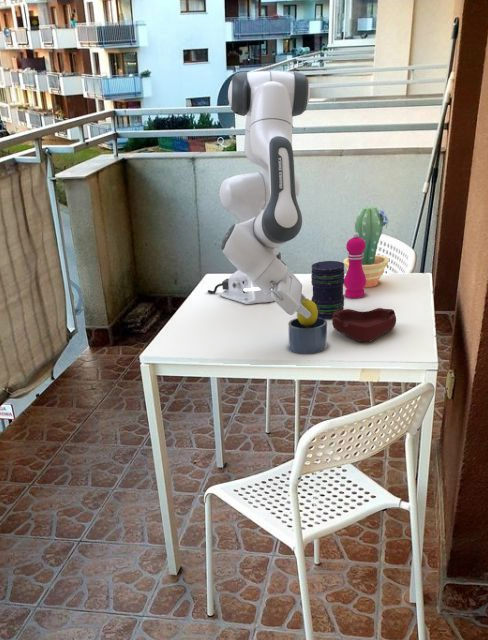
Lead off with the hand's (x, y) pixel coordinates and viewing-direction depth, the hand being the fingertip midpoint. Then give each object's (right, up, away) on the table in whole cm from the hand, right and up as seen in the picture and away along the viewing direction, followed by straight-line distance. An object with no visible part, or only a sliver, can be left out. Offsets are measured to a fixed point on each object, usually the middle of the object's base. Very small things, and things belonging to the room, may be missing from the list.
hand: (309, 311), depth 186 cm
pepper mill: (+20, +15, +42) cm, 49 cm away
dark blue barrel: (+9, +6, +28) cm, 30 cm away
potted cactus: (+26, +22, +52) cm, 62 cm away
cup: (0, -8, +5) cm, 10 cm away
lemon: (0, -4, +2) cm, 5 cm away
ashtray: (+17, -4, +10) cm, 20 cm away
